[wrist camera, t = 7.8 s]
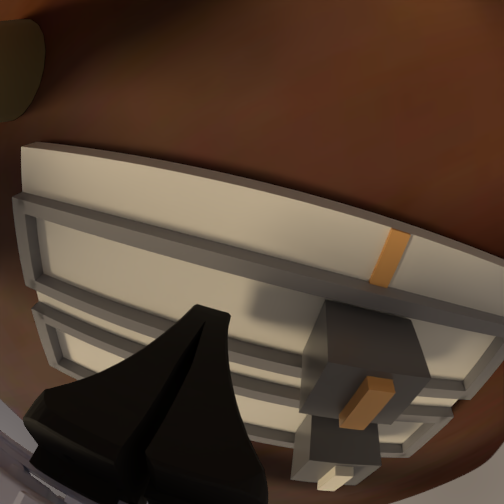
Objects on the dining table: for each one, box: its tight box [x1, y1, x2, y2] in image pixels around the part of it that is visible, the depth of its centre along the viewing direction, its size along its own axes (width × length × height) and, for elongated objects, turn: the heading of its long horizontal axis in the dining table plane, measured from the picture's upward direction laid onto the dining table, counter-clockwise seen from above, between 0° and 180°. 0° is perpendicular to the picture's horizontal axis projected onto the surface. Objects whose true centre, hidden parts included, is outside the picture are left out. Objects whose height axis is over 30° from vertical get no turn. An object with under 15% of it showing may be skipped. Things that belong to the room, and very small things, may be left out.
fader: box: [290, 414, 381, 491], centre depth 14 cm, size 3×4×4 cm
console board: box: [12, 142, 504, 458], centre depth 15 cm, size 16×26×2 cm, turn 78°
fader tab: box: [299, 299, 431, 430], centre depth 11 cm, size 3×4×4 cm
